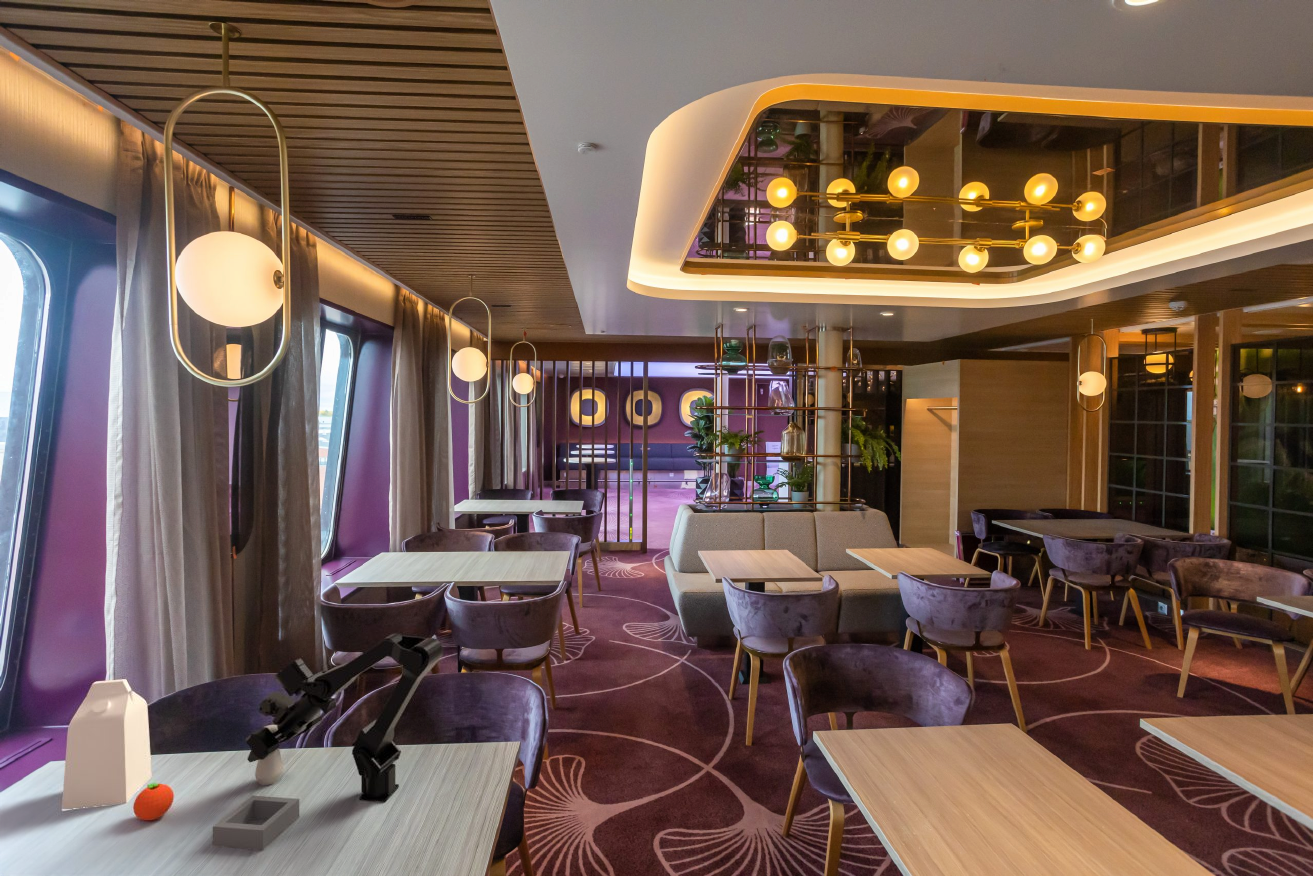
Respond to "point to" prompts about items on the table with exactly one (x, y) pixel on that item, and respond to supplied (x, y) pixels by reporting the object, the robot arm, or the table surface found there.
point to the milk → (107, 747)
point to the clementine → (153, 801)
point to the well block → (257, 837)
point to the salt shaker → (269, 765)
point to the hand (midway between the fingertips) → (264, 750)
